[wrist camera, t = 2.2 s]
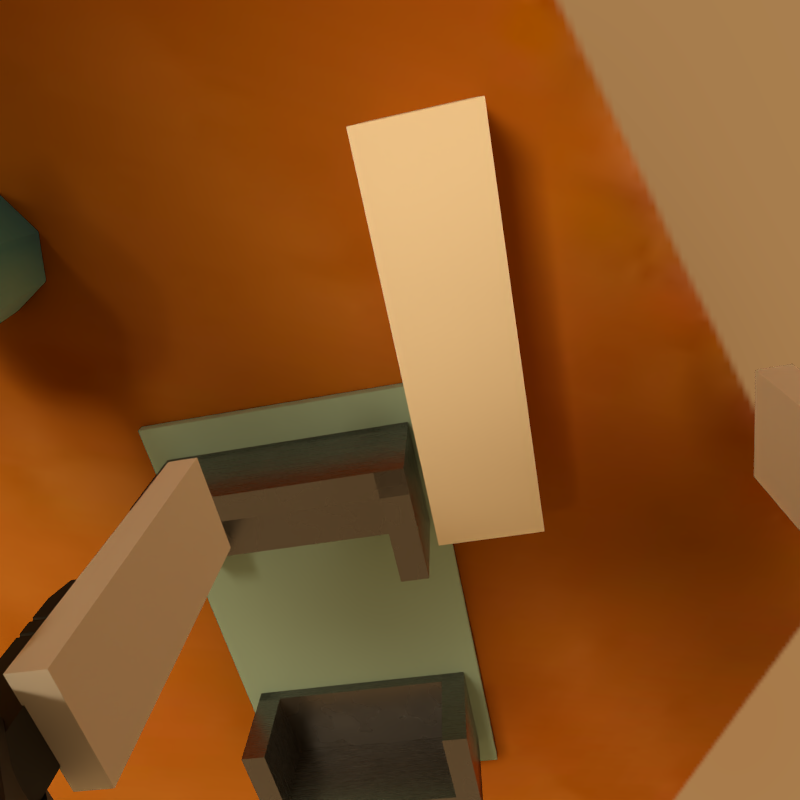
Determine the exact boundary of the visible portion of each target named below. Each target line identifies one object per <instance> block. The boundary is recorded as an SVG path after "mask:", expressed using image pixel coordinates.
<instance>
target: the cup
mask: <svg viewBox="0 0 800 800" xmlns="http://www.w3.org/2000/svg"><path fill="white" fill-rule="evenodd" d="M45 282H46V277H45V271H44V264H43V258H42V252H41V245H40V239H39V232H38V231H37V230H36V229H35V228H34V227H33V226H32V225H31V224H30V223H29V222H28V221H27V220H26V219H25V218H24V217H23V216H22V215H20V214H19V213H18V212H17V211H16V210H15V209H14V208H13V207H12V206H11V205H10V204H9V203H8V202H7V201H6V200H5V199H4V198H3V197H2V196H1V195H0V323H1V322H3V321H4V320H6V319H7V318H9V317H10V316H12V315H13V314H14V313H16V312H17V311H19V309H20V308H21V307H22V306H23V305H24V304H25V303H26V302H27V301H28V300H29V299H30V298H31V297H32V296H33V295H34V293H35V292H36V291H37V290H38V289H39V288H40V287H41V286H42V285H43V284H44V283H45Z"/></svg>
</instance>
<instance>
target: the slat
mask: <svg viewBox="0 0 800 800" xmlns="http://www.w3.org/2000/svg"><path fill="white" fill-rule="evenodd" d="M346 128H347V132H348V137H349V141H350V146H351V150H352V155H353V159H354V164H355V169H356V173H357V178H358V182H359V187H360V191H361V196H362V200H363V205H364V209H365V214H366V218H367V223H368V227H369V232H370V236H371V241H372V245H373V250H374V255H375V259H376V264H377V268H378V273H379V277H380V282H381V286H382V291H383V295H384V300H385V304H386V309H387V313H388V318H389V322H390V327H391V331H392V336H393V341H394V345H395V350H396V354H397V359H398V363H399V368H400V372H401V377H402V381H403V386H404V390H405V395H406V399H407V404H408V408H409V413H410V417H411V422H412V427H413V431H414V436H415V440H416V445H417V449H418V454H419V458H420V463H421V467H422V472H423V476H424V481H425V485H426V490H427V494H428V499H429V503H430V508H431V513H432V517H433V522H434V526H435V531H436V535H437V540H438V544H439V546H440V545H447V544H454V543H462V542H469V541H477V540H484V539H492V538H499V537H507V536H514V535H522V534H529V533H537V532H544V523H543V516H542V509H541V502H540V494H539V487H538V480H537V473H536V465H535V458H534V451H533V444H532V436H531V429H530V422H529V414H528V407H527V400H526V393H525V385H524V378H523V371H522V364H521V356H520V349H519V342H518V335H517V327H516V320H515V313H514V305H513V298H512V291H511V284H510V276H509V269H508V262H507V255H506V247H505V240H504V233H503V226H502V218H501V211H500V204H499V196H498V189H497V182H496V175H495V167H494V160H493V153H492V146H491V138H490V131H489V124H488V117H487V109H486V102H485V96H479V97H473V98H468V99H464V100H460V101H455V102H451V103H446V104H442V105H437V106H433V107H428V108H424V109H420V110H415V111H411V112H406V113H402V114H397V115H393V116H388V117H384V118H379V119H375V120H371V121H366V122H362V123H359V124H355V125H351V126H348V127H346Z"/></svg>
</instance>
